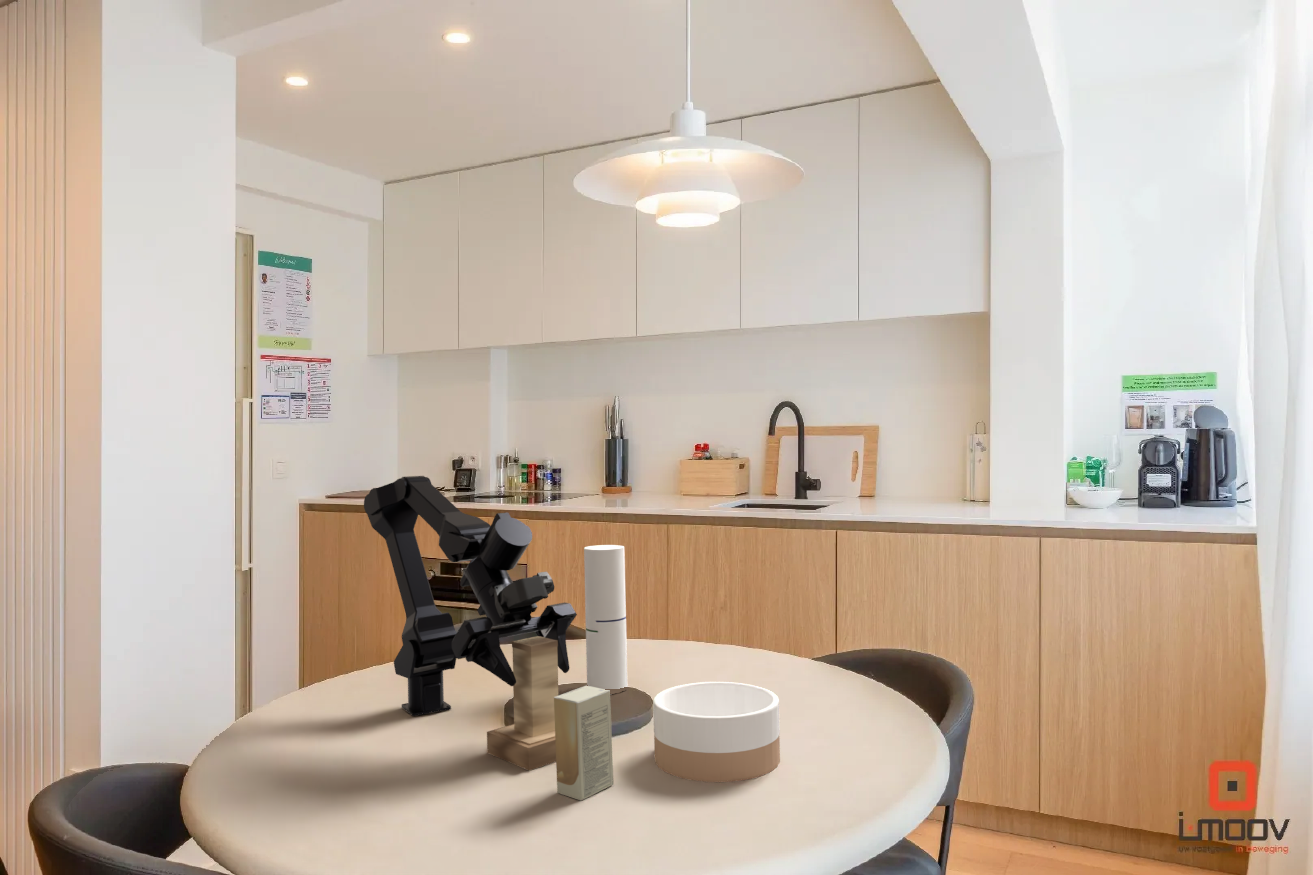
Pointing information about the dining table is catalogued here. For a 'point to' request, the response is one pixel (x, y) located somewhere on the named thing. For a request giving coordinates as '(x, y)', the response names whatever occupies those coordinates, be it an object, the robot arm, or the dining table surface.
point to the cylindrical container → (605, 616)
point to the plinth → (522, 747)
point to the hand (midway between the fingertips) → (541, 677)
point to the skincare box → (583, 742)
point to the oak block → (535, 684)
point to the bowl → (716, 731)
